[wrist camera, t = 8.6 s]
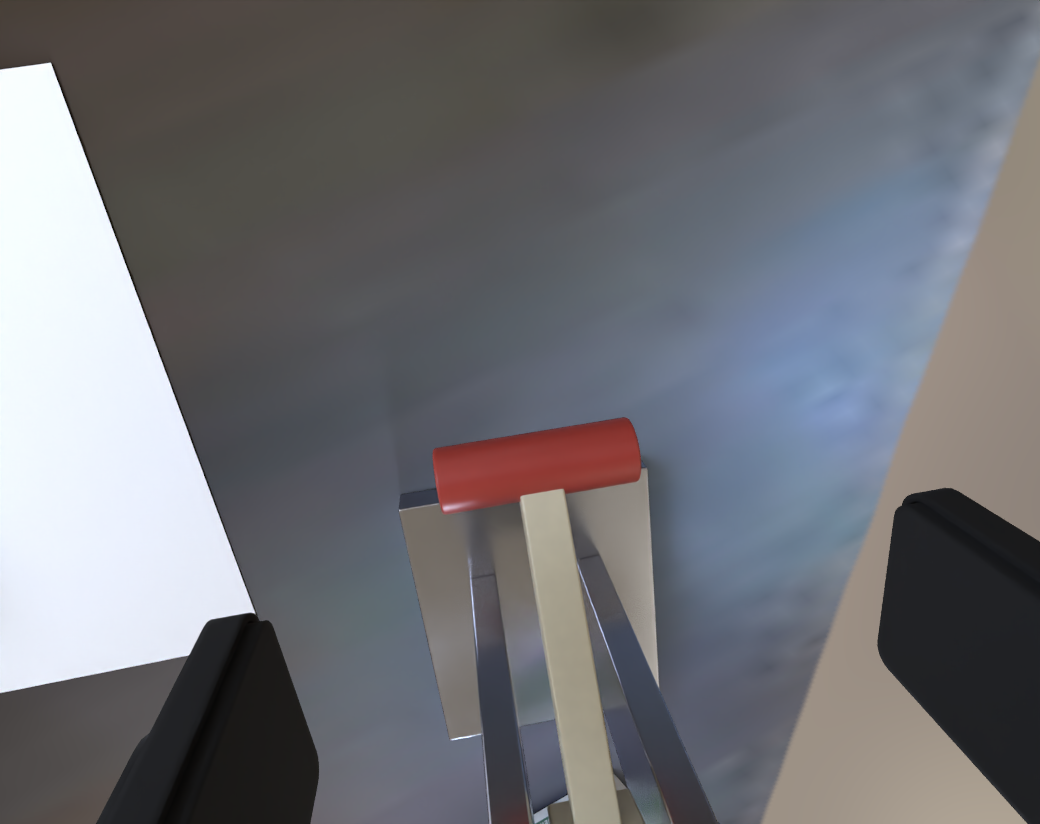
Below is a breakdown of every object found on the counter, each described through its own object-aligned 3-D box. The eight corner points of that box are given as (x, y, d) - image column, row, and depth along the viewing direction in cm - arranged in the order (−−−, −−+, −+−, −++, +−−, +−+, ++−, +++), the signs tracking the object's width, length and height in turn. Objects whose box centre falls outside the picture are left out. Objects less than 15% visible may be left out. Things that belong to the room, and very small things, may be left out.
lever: (436, 450, 17) (428, 446, 14) (616, 421, 17) (637, 412, 15) (510, 930, 15) (514, 1013, 13) (702, 888, 16) (740, 961, 13)
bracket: (400, 493, 23) (356, 840, 11) (637, 453, 23) (849, 738, 11) (449, 717, 26) (457, 1154, 15) (651, 678, 27) (818, 1064, 15)
